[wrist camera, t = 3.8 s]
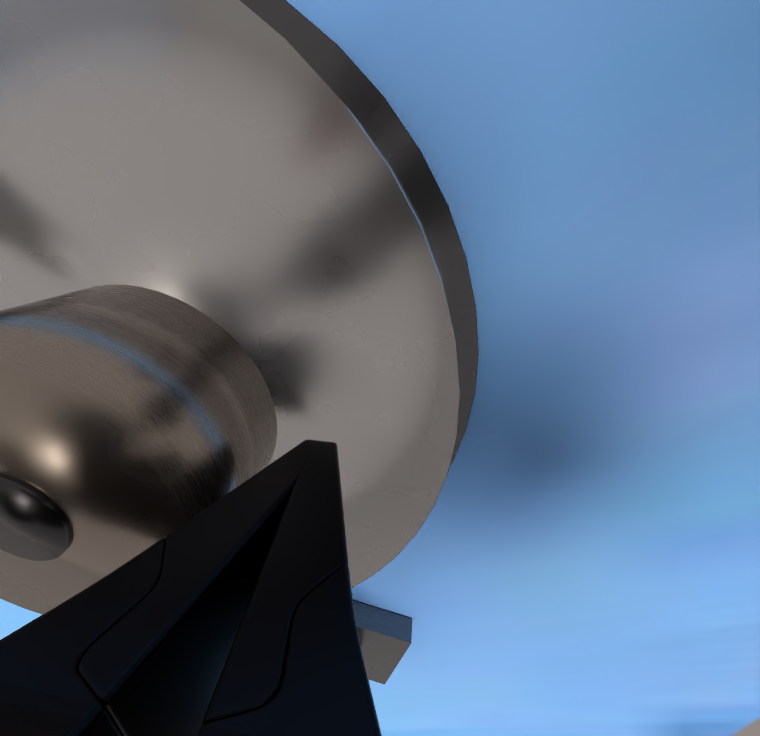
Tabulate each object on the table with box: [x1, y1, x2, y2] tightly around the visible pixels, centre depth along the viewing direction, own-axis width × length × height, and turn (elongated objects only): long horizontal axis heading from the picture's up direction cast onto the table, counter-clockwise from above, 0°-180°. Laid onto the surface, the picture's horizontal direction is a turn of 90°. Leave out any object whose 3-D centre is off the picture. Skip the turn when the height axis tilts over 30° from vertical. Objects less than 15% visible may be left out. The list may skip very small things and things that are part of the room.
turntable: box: [0, 0, 460, 588], centre depth 9 cm, size 19×19×6 cm
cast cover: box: [0, 285, 277, 614], centre depth 8 cm, size 7×7×4 cm
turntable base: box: [240, 0, 478, 467], centre depth 12 cm, size 20×20×1 cm
